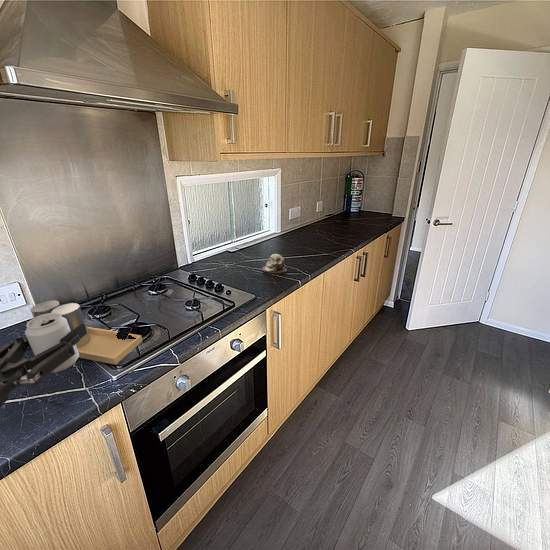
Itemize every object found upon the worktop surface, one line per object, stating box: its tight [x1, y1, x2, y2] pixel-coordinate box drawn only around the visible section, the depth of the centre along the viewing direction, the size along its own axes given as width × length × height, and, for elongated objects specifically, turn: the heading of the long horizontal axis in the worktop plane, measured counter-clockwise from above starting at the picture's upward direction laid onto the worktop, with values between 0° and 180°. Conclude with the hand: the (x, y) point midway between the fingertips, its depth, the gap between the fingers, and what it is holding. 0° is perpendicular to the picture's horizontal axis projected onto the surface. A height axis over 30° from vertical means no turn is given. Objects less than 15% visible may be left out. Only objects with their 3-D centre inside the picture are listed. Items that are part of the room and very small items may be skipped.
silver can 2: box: [51, 302, 90, 348], centre depth 89 cm, size 7×7×12 cm
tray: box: [77, 326, 143, 366], centre depth 90 cm, size 32×11×2 cm, turn 74°
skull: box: [261, 253, 288, 275], centre depth 142 cm, size 12×10×10 cm
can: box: [24, 313, 79, 373], centre depth 65 cm, size 8×8×12 cm
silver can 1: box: [30, 299, 61, 318], centre depth 91 cm, size 7×7×12 cm
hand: (68, 327), depth 70 cm, fingers closed on can, 7 cm apart
